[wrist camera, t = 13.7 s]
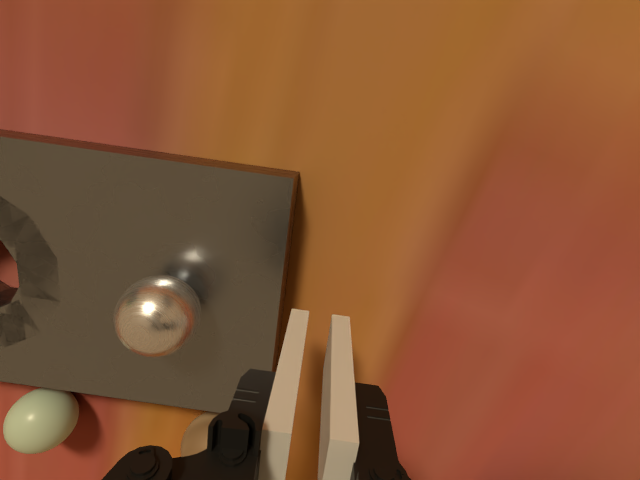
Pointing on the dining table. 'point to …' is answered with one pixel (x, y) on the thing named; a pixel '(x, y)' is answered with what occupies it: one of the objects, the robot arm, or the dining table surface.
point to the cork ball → (197, 434)
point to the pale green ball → (40, 420)
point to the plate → (139, 266)
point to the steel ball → (157, 316)
